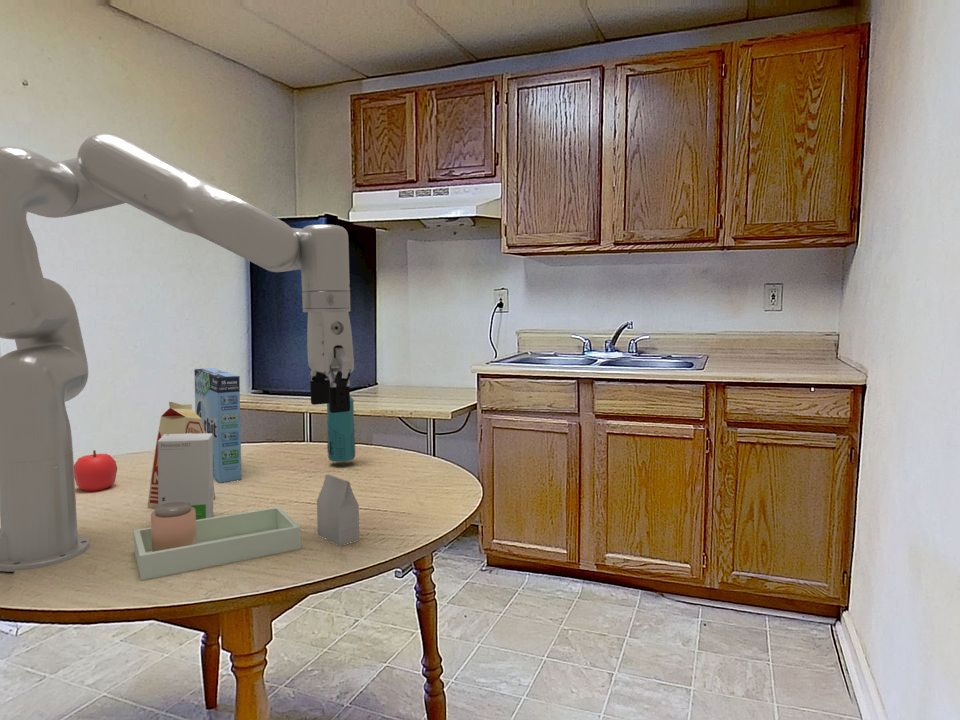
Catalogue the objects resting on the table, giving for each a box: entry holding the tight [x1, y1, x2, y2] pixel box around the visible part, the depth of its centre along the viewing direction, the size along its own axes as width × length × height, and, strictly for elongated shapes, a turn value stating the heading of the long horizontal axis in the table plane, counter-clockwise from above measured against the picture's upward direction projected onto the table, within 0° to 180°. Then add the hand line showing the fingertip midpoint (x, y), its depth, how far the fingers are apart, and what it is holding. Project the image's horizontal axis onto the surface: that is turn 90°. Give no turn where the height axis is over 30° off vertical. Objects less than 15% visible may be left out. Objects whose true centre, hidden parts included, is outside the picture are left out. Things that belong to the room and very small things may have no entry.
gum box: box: [193, 367, 243, 484], centre depth 147 cm, size 19×5×23 cm, turn 37°
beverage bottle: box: [326, 396, 356, 463], centre depth 154 cm, size 6×7×20 cm
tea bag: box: [316, 473, 360, 547], centre depth 107 cm, size 4×7×10 cm, turn 43°
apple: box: [74, 449, 118, 492], centre depth 136 cm, size 8×8×8 cm
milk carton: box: [147, 401, 216, 509], centre depth 125 cm, size 9×9×20 cm
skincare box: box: [158, 433, 214, 520], centre depth 113 cm, size 8×7×16 cm
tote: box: [132, 505, 302, 582], centre depth 100 cm, size 22×12×4 cm, turn 122°
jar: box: [150, 502, 197, 552], centre depth 97 cm, size 6×6×8 cm
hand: (329, 407), depth 107 cm, fingers open, 9 cm apart
